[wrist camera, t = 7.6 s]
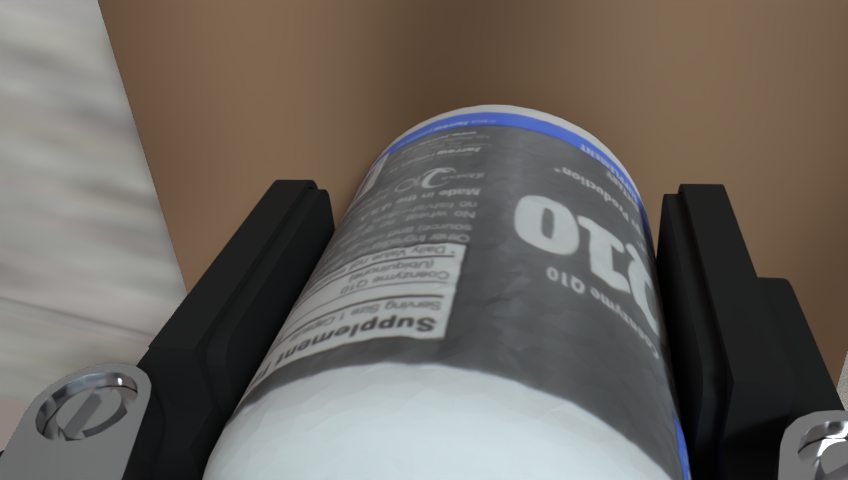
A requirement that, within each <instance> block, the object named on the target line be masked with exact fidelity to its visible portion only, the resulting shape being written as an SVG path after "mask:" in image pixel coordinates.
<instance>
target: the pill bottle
mask: <svg viewBox="0 0 848 480" xmlns="http://www.w3.org/2000/svg"><path fill="white" fill-rule="evenodd" d="M202 480H692V476H691V469H690V463H689V456H688V451H687V446H686V442H685V438H684V434H683V428H682V421H681V412H680V405H679V400H678V396H677V392H676V382H675V375H674V370H673V365H672V361H671V352H670V345H669V339H668V332H667V327H666V322H665V315H664V310H663V302H662V297H661V292H660V284H659V278H658V271H657V263H656V256H655V249H654V243H653V238H652V233H651V228H650V225H649V221H648V217H647V213H646V210H645V207H644V205H643V202H642V199H641V197H640V194H639V192H638V190H637V188H636V186H635V184H634V182H633V181H632V179H631V177H630V175H629V174H628V172H627V170H626V169H625V168H624V167H623V165H622V164H621V163H620V161H619V160H618V159H617V158H616V157H615V156H614V154H613V153H612V152H611V151H610V150H609V149H608V148H607V147H606V146H605V145H604V144H602V143H601V142H600V141H599V140H598V139H597V138H596V137H594V136H593V135H591V134H590V133H588V132H587V131H585V130H583V129H582V128H580V127H578V126H576V125H574V124H572V123H570V122H568V121H566V120H564V119H562V118H559V117H556V116H553V115H550V114H548V113H544V112H541V111H537V110H533V109H528V108H523V107H517V106H511V105H479V106H473V107H466V108H461V109H457V110H453V111H450V112H446V113H443V114H440V115H437V116H435V117H433V118H430V119H428V120H426V121H424V122H422V123H419V124H418V125H416V126H414V127H413V128H411V129H409V130H408V131H406V132H405V133H403V134H402V135H401V136H399V137H398V138H397V139H395V140H394V141H393V142H392V143H391V144H390V145H389V146H388V147H387V148H386V149H385V150H384V151H383V152H382V154H381V155H380V156H379V157H378V159H377V160H376V161H375V162H374V164H373V165H372V167H371V168H370V170H369V171H368V173H367V175H366V176H365V178H364V180H363V181H362V183H361V185H360V186H359V188H358V190H357V192H356V194H355V195H354V197H353V200H352V202H351V203H350V205H349V206H348V208H347V210H346V212H345V214H344V216H343V218H342V219H341V221H340V223H339V225H338V226H337V228H336V230H335V232H334V234H333V236H332V238H331V240H330V242H329V243H328V245H327V247H326V249H325V251H324V253H323V254H322V257H321V258H320V260H319V262H318V264H317V265H316V267H315V269H314V271H313V273H312V274H311V276H310V278H309V280H308V281H307V283H306V285H305V287H304V289H303V290H302V292H301V294H300V296H299V298H298V299H297V301H296V302H295V304H294V305H293V307H292V309H291V312H290V314H289V316H288V318H287V319H286V321H285V323H284V325H283V326H282V328H281V330H280V332H279V333H278V335H277V337H276V339H275V340H274V342H273V344H272V346H271V347H270V349H269V351H268V353H267V355H266V356H265V358H264V360H263V362H262V363H261V365H260V367H259V369H258V371H257V372H256V374H255V376H254V378H253V379H252V381H251V383H250V385H249V386H248V388H247V390H246V392H245V393H244V395H243V397H242V399H241V400H240V402H239V404H238V406H237V408H236V409H235V411H234V413H233V415H232V416H231V418H230V419H229V420H228V421H227V422H226V424H225V426H224V429H223V431H222V433H221V435H220V437H219V439H218V441H217V443H216V445H215V447H214V449H213V451H212V453H211V455H210V457H209V460H208V463H207V466H206V469H205V472H204V475H203V479H202Z"/></svg>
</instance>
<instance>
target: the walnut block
mask: <svg viewBox="0 0 848 480" xmlns="http://www.w3.org/2000/svg"><path fill="white" fill-rule="evenodd" d="M98 3H99V7H100V10H101V13H102V16H103V20H104V23H105V26H106V29H107V33H108V36H109V39H110V42H111V46H112V49H113V52H114V55H115V59H116V62H117V65H118V68H119V72H120V75H121V78H122V81H123V85H124V88H125V91H126V94H127V98H128V101H129V104H130V107H131V111H132V114H133V117H134V120H135V124H136V127H137V130H138V133H139V137H140V140H141V143H142V146H143V149H144V153H145V156H146V159H147V162H148V166H149V169H150V172H151V175H152V179H153V182H154V185H155V188H156V192H157V195H158V198H159V201H160V205H161V208H162V211H163V214H164V218H165V221H166V224H167V227H168V231H169V234H170V237H171V240H172V244H173V247H174V250H175V253H176V257H177V260H178V263H179V266H180V270H181V273H182V276H183V279H184V283H185V286H186V289H187V292H188V294H189V293H190V291H191V290H192V289H193V287H194V286H195V285H196V283H197V282H198V281H199V279H200V278H201V277H202V275H203V274H204V273H205V272H206V270H207V269H208V268H209V266H210V265H211V264H212V262H213V261H214V260H215V258H216V257H217V256H218V254H219V253H220V252H221V251H222V249H223V248H224V247H225V245H226V244H227V243H228V241H229V240H230V239H231V237H232V236H233V235H234V233H235V232H236V231H237V229H238V228H239V227H240V226H241V224H242V223H243V222H244V220H245V219H246V218H247V216H248V215H249V214H250V212H251V211H252V210H253V208H254V207H255V206H256V205H257V203H258V202H259V201H260V199H261V198H262V197H263V195H264V194H265V193H266V191H267V190H268V189H269V187H270V186H271V185H272V183H273V182H274V181H276V180H313V181H314V182H315V183H316V185H317V187H318V189H326V190H327V192H328V194H329V197H330V201H331V207H332V213H333V219H334V225H335V230H336V228H337V226H338V225H339V223H340V221H341V219H342V218H343V216H344V214H345V212H346V210H347V208H348V206H349V205H350V203H351V202H352V200H353V197H354V195H355V194H356V192H357V190H358V188H359V186H360V185H361V183H362V181H363V180H364V178H365V176H366V175H367V173H368V171H369V170H370V168H371V167H372V165H373V164H374V162H375V161H376V160H377V159H378V157H379V156H380V155H381V154H382V152H383V151H384V150H385V149H386V148H387V147H388V146H389V145H390V144H391V143H392V142H393V141H394V140H395V139H397V138H398V137H399V136H401V135H402V134H403V133H405V132H406V131H408V130H409V129H411V128H413V127H414V126H416V125H418V124H419V123H422V122H424V121H426V120H428V119H430V118H433V117H435V116H437V115H440V114H443V113H446V112H450V111H453V110H457V109H461V108H466V107H473V106H479V105H511V106H517V107H523V108H528V109H533V110H537V111H541V112H544V113H548V114H550V115H553V116H556V117H559V118H562V119H564V120H566V121H568V122H570V123H572V124H574V125H576V126H578V127H580V128H582V129H583V130H585V131H587V132H588V133H590V134H591V135H593V136H594V137H596V138H597V139H598V140H599V141H600V142H601V143H602V144H604V145H605V146H606V147H607V148H608V149H609V150H610V151H611V152H612V153H613V154H614V156H615V157H616V158H617V159H618V160H619V161H620V163H621V164H622V165H623V167H624V168H625V169H626V170H627V172H628V174H629V175H630V177H631V179H632V181H633V182H634V184H635V186H636V188H637V190H638V192H639V194H640V197H641V199H642V202H643V205H644V207H645V210H646V213H647V217H648V221H649V225H650V228H651V233H652V238H653V243H654V249H655V256H656V255H657V246H658V236H659V227H660V217H661V208H662V200H663V196H664V194H677V193H678V189H679V186H680V184H723V185H724V187H725V189H726V192H727V195H728V197H729V200H730V203H731V206H732V208H733V211H734V214H735V217H736V219H737V222H738V225H739V228H740V230H741V233H742V236H743V238H744V241H745V244H746V247H747V249H748V252H749V255H750V258H751V260H752V263H753V266H754V269H755V271H756V274H757V277H767V278H784V279H787V280H788V281H789V282H790V284H791V286H792V287H793V290H794V292H795V294H796V297H797V299H798V301H799V304H800V306H801V308H802V311H803V313H804V316H805V318H806V320H807V323H808V325H809V327H810V330H811V332H812V334H813V337H814V339H815V341H816V344H817V346H818V348H819V351H820V353H821V355H822V358H823V360H824V362H825V365H826V367H827V369H828V372H829V374H830V377H831V379H832V381H833V384H834V386H835V388H837V385H838V382H839V378H840V375H841V371H842V368H843V365H844V361H845V358H846V354H847V351H848V0H98Z"/></svg>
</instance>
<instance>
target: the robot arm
mask: <svg viewBox="0 0 848 480" xmlns="http://www.w3.org/2000/svg"><path fill="white" fill-rule="evenodd" d="M334 232H335V225H334V219H333V213H332V207H331V201H330V197H329V194H328V192H327V190H326V189H318V187H317V185H316V183H315V182H314V181H313V180H276V181H274V182H273V183H272V185H271V186H270V187H269V189H268V190H267V191H266V193H265V194H264V195H263V197H262V198H261V199H260V201H259V202H258V203H257V205H256V206H255V207H254V208H253V210H252V211H251V212H250V214H249V215H248V216H247V218H246V219H245V220H244V222H243V223H242V224H241V226H240V227H239V228H238V229H237V231H236V232H235V233H234V235H233V236H232V237H231V239H230V240H229V241H228V243H227V244H226V245H225V247H224V248H223V249H222V251H221V252H220V253H219V254H218V256H217V257H216V258H215V260H214V261H213V262H212V264H211V265H210V266H209V268H208V269H207V270H206V272H205V273H204V274H203V275H202V277H201V278H200V279H199V281H198V282H197V283H196V285H195V286H194V287H193V289H192V290H191V291H190V293H189V294H188V295H187V297H186V298H185V299H184V300H183V302H182V303H181V304H180V306H179V307H178V308H177V310H176V311H175V312H174V314H173V315H172V316H171V318H170V319H169V320H168V322H167V323H166V324H165V325H164V327H163V328H162V329H161V331H160V332H159V333H158V335H157V336H156V337H155V339H154V340H153V341H152V343H151V344H150V345H149V350H148V351H147V352H146V354H145V355H144V356H143V358H142V359H141V360H140V362H139V363H138V364H137V366H132V365H128V364H124V363H106V364H101V365H96V366H91V367H87V368H84V369H82V370H79V371H77V372H74V373H72V374H69V375H67V376H65V377H64V378H62V379H60V380H58V381H57V382H55V383H53V384H52V385H50V386H49V387H48V388H47V389H45V390H44V391H43V392H42V393H41V394H39V395H38V396H37V397H36V398H35V399H34V401H33V402H32V403H31V405H30V406H29V407H28V409H27V410H26V411H25V413H24V415H23V417H22V419H21V420H20V422H19V424H18V426H17V428H16V430H15V432H14V433H13V435H12V437H11V439H10V441H9V443H8V444H7V447H6V448H5V450H3V451H1V452H0V480H202V479H203V475H204V472H205V469H206V466H207V463H208V460H209V457H210V455H211V453H212V451H213V449H214V447H215V445H216V443H217V441H218V439H219V437H220V435H221V433H222V431H223V429H224V426H225V424H226V422H227V421H228V420H229V419H230V418H231V416H232V415H233V413H234V411H235V409H236V408H237V406H238V404H239V402H240V400H241V399H242V397H243V395H244V393H245V392H246V390H247V388H248V386H249V385H250V383H251V381H252V379H253V378H254V376H255V374H256V372H257V371H258V369H259V367H260V365H261V363H262V362H263V360H264V358H265V356H266V355H267V353H268V351H269V349H270V347H271V346H272V344H273V342H274V340H275V339H276V337H277V335H278V333H279V332H280V330H281V328H282V326H283V325H284V323H285V321H286V319H287V318H288V316H289V314H290V312H291V309H292V307H293V305H294V304H295V302H296V301H297V299H298V298H299V296H300V294H301V292H302V290H303V289H304V287H305V285H306V283H307V281H308V280H309V278H310V276H311V274H312V273H313V271H314V269H315V267H316V265H317V264H318V262H319V260H320V258H321V257H322V254H323V253H324V251H325V249H326V247H327V245H328V243H329V242H330V240H331V238H332V236H333V234H334ZM656 263H657V271H658V278H659V284H660V292H661V297H662V302H663V310H664V315H665V322H666V327H667V332H668V339H669V345H670V352H671V361H672V365H673V370H674V375H675V382H676V392H677V396H678V400H679V405H680V412H681V421H682V428H683V434H684V438H685V442H686V446H687V451H688V456H689V463H690V469H691V476H692V480H848V411H845V409H844V407H843V405H842V402H841V400H840V398H839V395H838V393H837V391H836V388H835V386H834V384H833V381H832V379H831V377H830V374H829V372H828V369H827V367H826V365H825V362H824V360H823V358H822V355H821V353H820V351H819V348H818V346H817V344H816V341H815V339H814V337H813V334H812V332H811V330H810V327H809V325H808V323H807V320H806V318H805V316H804V313H803V311H802V308H801V306H800V304H799V301H798V299H797V297H796V294H795V292H794V290H793V287H792V286H791V284H790V282H789V281H788V280H787V279H784V278H767V277H757V274H756V271H755V269H754V266H753V263H752V260H751V258H750V255H749V252H748V249H747V247H746V244H745V241H744V238H743V236H742V233H741V230H740V228H739V225H738V222H737V219H736V217H735V214H734V211H733V208H732V206H731V203H730V200H729V197H728V195H727V192H726V189H725V187H724V185H723V184H680V186H679V189H678V193H677V194H664V196H663V200H662V208H661V217H660V227H659V236H658V246H657V255H656Z"/></svg>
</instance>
